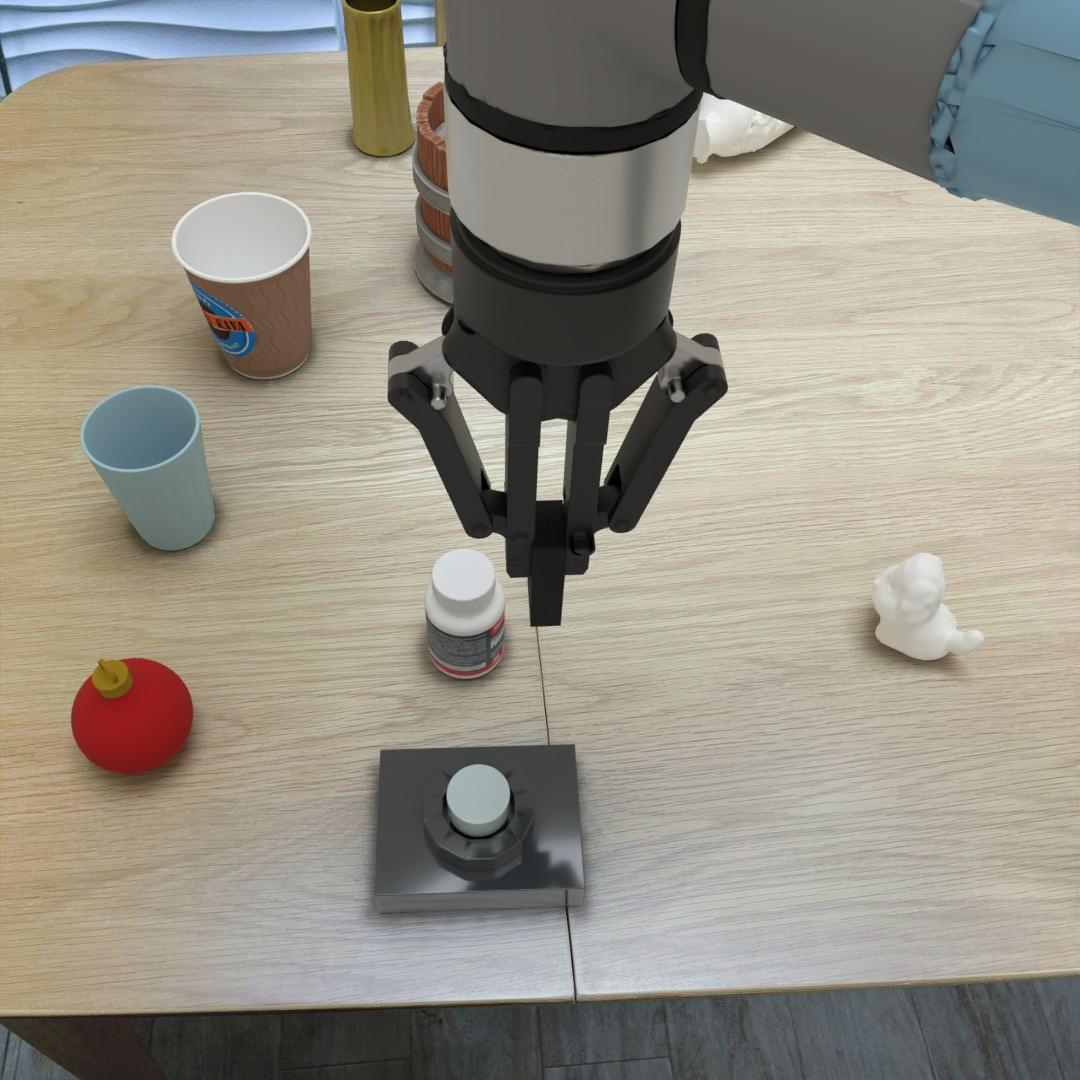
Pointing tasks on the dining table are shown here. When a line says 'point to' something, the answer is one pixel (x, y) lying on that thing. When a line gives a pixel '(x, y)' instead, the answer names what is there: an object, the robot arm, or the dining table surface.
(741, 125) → the white bottle
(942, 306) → the dining table surface
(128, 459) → the cup
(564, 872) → the push button box
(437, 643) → the pill bottle
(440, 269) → the mug
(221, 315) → the coffee cup
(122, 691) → the christmas ornament
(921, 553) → the figurine
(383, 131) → the vase
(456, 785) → the grey short cylinder
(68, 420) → the dining table surface
